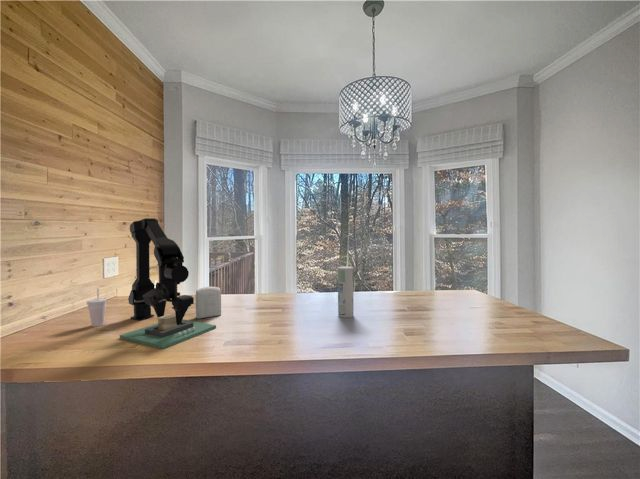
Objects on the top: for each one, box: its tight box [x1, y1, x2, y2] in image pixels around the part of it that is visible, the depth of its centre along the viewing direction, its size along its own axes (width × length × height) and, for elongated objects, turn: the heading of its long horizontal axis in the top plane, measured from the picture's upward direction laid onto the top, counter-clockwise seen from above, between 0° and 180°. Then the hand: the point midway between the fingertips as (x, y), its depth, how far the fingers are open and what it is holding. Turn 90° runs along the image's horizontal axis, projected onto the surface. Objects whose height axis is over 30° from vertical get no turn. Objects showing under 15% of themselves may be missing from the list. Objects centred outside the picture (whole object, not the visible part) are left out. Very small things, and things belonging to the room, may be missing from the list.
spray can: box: [337, 265, 355, 319], centre depth 132 cm, size 6×6×20 cm
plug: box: [157, 312, 181, 331], centre depth 114 cm, size 4×7×5 cm, turn 153°
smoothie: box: [86, 288, 108, 328], centre depth 123 cm, size 6×6×14 cm
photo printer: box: [195, 286, 222, 320], centre depth 134 cm, size 10×4×12 cm, turn 123°
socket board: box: [119, 318, 217, 350], centre depth 114 cm, size 22×22×2 cm
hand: (169, 323), depth 114 cm, fingers open, 9 cm apart
